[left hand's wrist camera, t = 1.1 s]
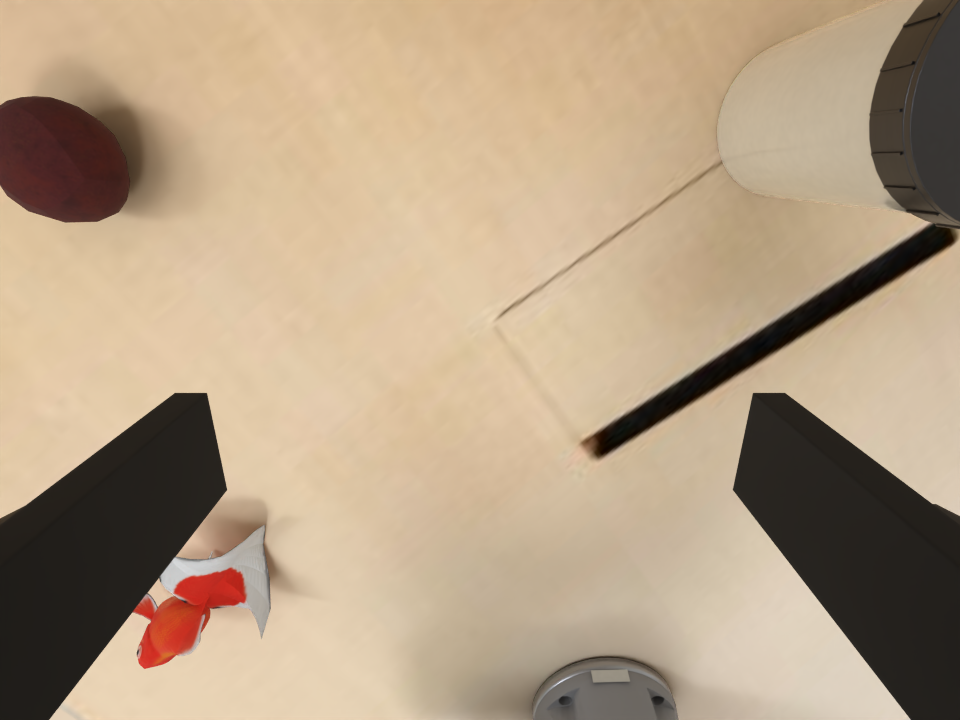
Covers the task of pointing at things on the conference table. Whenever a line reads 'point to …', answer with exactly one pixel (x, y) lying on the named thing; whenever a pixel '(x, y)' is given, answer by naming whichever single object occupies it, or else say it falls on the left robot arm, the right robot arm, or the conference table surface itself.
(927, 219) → the lid
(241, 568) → the fish
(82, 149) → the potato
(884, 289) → the conference table surface
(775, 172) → the jar
